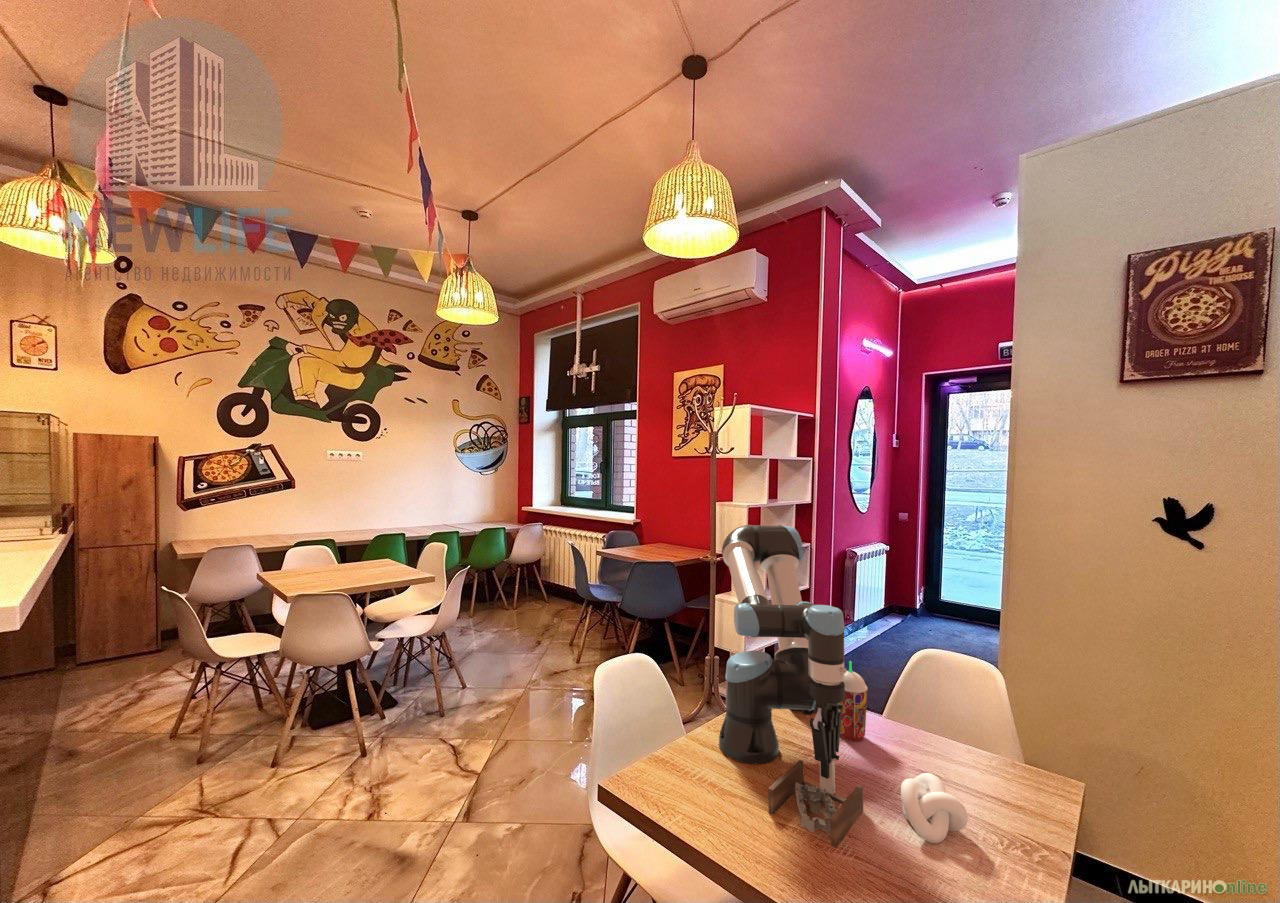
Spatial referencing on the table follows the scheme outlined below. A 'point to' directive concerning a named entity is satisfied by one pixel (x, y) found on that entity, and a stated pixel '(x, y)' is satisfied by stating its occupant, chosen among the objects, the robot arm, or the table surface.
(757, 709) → the robot arm
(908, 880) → the table surface
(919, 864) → the table surface
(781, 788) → the brown u-shaped frame
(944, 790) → the white knot sculpture
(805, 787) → the egg carton
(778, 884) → the table surface
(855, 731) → the smoothie
